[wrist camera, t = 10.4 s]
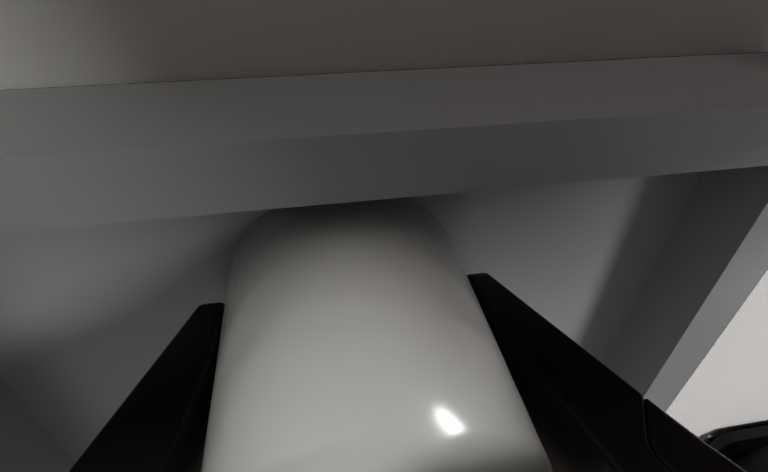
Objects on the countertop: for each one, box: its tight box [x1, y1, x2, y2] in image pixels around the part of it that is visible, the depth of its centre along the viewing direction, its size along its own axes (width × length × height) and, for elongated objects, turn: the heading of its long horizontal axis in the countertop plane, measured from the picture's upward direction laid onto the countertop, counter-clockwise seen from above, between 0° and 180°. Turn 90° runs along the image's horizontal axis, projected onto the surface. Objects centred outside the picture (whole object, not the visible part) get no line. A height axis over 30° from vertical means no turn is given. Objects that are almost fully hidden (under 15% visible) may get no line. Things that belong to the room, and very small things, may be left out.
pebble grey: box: [201, 197, 553, 472], centre depth 7 cm, size 4×4×4 cm
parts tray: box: [0, 52, 768, 472], centre depth 11 cm, size 16×14×2 cm
